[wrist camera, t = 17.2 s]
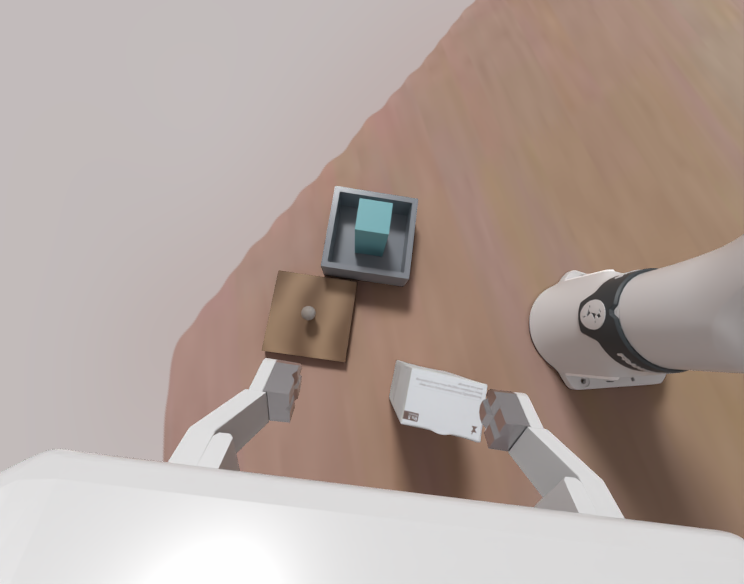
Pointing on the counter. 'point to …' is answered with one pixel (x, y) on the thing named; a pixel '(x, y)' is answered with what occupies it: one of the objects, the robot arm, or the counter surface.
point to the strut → (372, 226)
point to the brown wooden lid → (310, 316)
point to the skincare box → (437, 401)
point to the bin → (342, 239)
